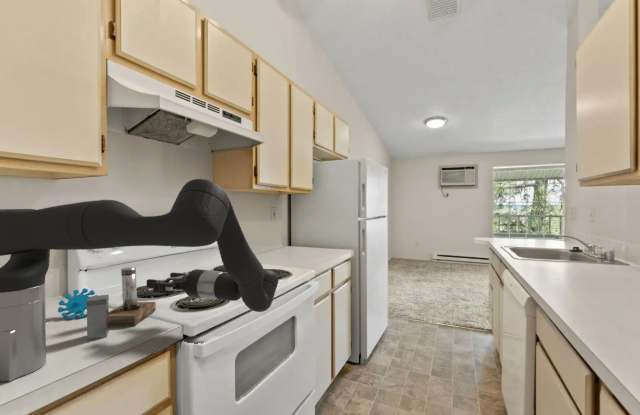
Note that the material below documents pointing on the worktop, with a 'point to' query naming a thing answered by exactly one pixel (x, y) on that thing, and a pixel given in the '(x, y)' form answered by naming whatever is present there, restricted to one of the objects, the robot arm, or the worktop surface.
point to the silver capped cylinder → (129, 288)
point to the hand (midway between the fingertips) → (159, 279)
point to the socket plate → (131, 314)
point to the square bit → (97, 317)
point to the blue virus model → (75, 304)
